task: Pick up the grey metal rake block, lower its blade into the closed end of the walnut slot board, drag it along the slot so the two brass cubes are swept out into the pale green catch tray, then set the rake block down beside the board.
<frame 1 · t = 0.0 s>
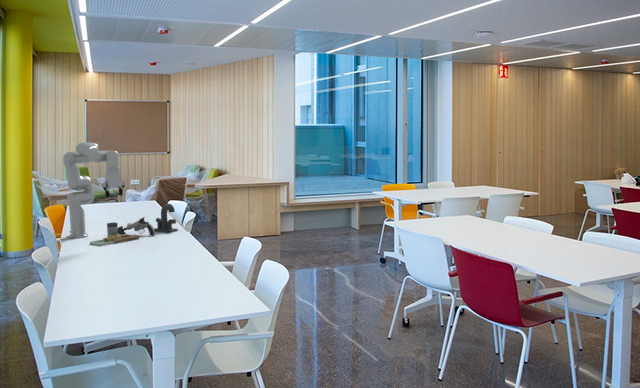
hand: (114, 196, 364), 31 cm above the table, fingers open, 9 cm apart
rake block: (113, 238, 383), on the table
catch tray: (102, 244, 365), on the table
chip b: (112, 241, 370), resting on slot board
chip a: (117, 240, 374), resting on slot board
gun: (136, 235, 397), on the table
faucet: (168, 230, 415), on the table
slot board: (121, 240, 376), on the table
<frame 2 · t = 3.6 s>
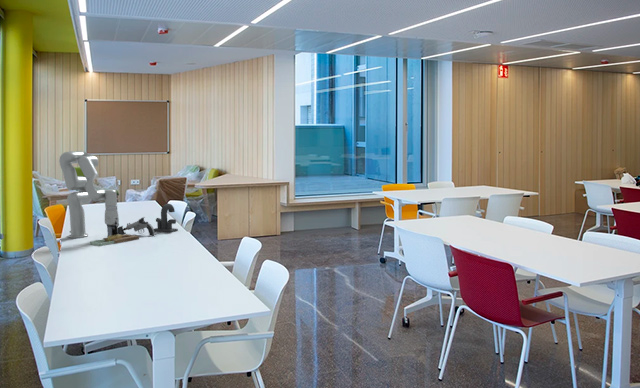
hand: (112, 234, 383), 3 cm above the table, fingers closed on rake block, 4 cm apart
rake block: (113, 238, 383), on the table, touching gripper
everything else where it was.
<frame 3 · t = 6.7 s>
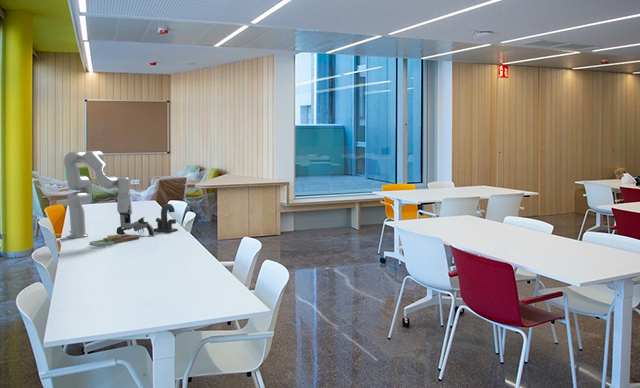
hand: (125, 222, 378), 12 cm above the table, fingers closed on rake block, 4 cm apart
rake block: (125, 227, 378), point 9 cm above the table, touching gripper
everything else where it was.
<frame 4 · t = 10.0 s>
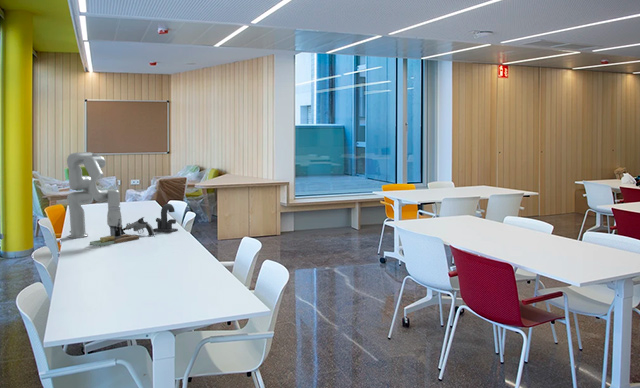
hand: (115, 235, 372), 4 cm above the table, fingers closed on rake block, 4 cm apart
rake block: (116, 240, 373), point 1 cm above the table, touching gripper
chip b: (104, 243, 366), resting on catch tray
chip a: (110, 242, 369), on the table
everything else where it was.
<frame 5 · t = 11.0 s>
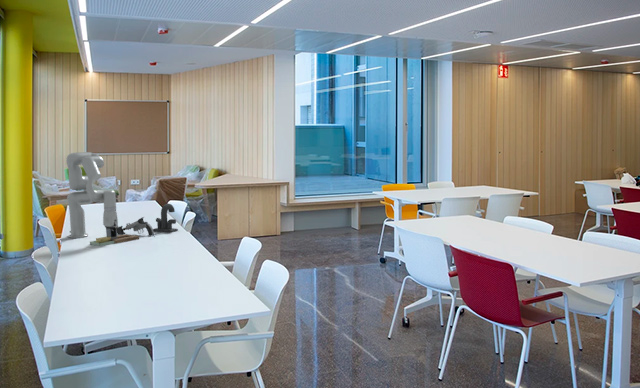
hand: (111, 236, 370), 4 cm above the table, fingers closed on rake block, 4 cm apart
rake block: (112, 241, 370), point 1 cm above the table, touching chip a, gripper
chip b: (100, 244, 363), resting on catch tray
chip a: (106, 243, 367), resting on catch tray, touching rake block
everything else where it was.
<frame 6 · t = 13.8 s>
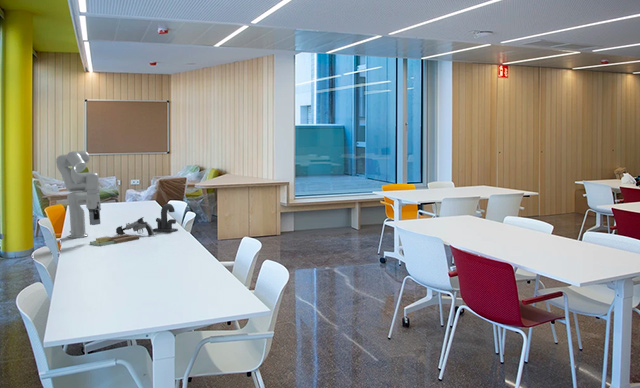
hand: (94, 218, 371), 16 cm above the table, fingers closed on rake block, 4 cm apart
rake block: (95, 224, 372), point 12 cm above the table, touching gripper
chip b: (100, 244, 363), resting on catch tray, touching chip a
chip a: (106, 243, 367), resting on catch tray, touching chip b
everything else where it was.
when the fingers open (4 cm above the table, at t = 16.4 s): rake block stays where it is, on the table.
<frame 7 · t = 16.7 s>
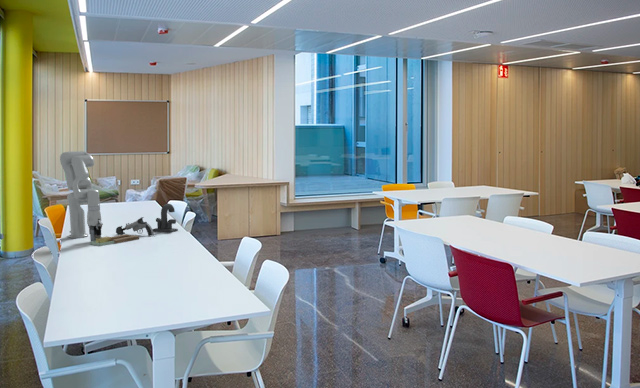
hand: (95, 234, 372), 5 cm above the table, fingers open, 7 cm apart
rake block: (96, 241, 373), on the table
everything else where it was.
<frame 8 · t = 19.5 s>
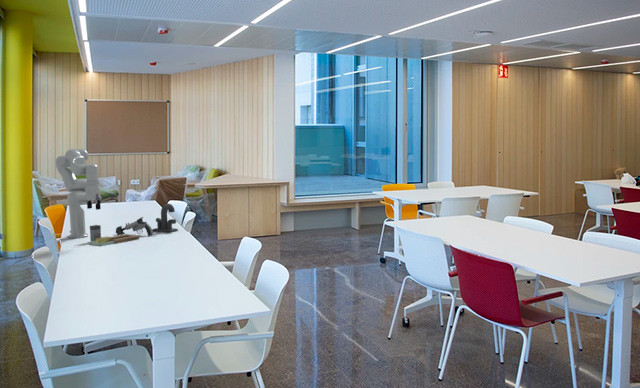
hand: (93, 208, 370), 22 cm above the table, fingers open, 9 cm apart
at the end: chip a inside the target area (2.4 cm from its centre), resting on catch tray; chip b inside the target area (1.6 cm from its centre), resting on catch tray; the gripper is holding nothing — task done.
